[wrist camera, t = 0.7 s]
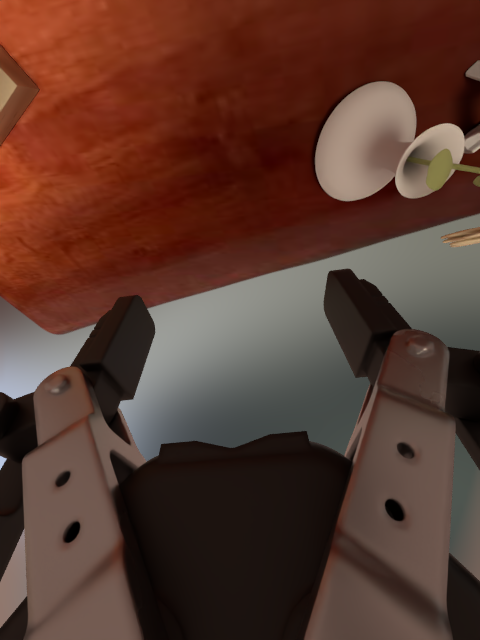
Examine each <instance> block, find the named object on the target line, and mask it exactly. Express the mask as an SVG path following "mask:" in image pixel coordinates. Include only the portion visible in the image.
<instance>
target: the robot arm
mask: <svg viewBox="0 0 480 640" xmlns="http://www.w3.org/2000/svg"><path fill="white" fill-rule="evenodd" d="M324 311H325V314H326V317H327V319H328V321H329V323H330V325H331V327H332V329H333V331H334V334H335V336H336V338H337V340H338V342H339V344H340V346H341V348H342V350H343V352H344V354H345V356H346V358H347V360H348V363H349V365H350V367H351V369H352V371H353V373H354V375H355V377H356V378H358V377H368V379H369V381H370V385H369V388H368V390H367V393H366V396H365V399H364V402H363V406H362V408H361V411H360V414H359V417H358V420H357V423H356V426H355V429H354V432H353V434H352V437H351V439H350V442H349V444H348V447H347V450H346V452H345V455H344V456H343V455H342V454H340V453H338V452H337V451H335V450H333V449H331V448H329V447H327V446H324V445H321V444H318V443H315V442H310V441H309V439H308V435H307V431H302V432H291V433H280V434H270V435H267V436H264V437H262V438H259V439H256V440H254V441H251V442H249V443H246V444H244V445H241V446H238V447H235V448H227V447H223V446H218V445H213V444H208V443H203V442H198V441H191V442H179V443H169V444H161V448H160V452H159V456H156V457H154V458H152V459H151V460H149V461H147V462H146V460H145V459H144V457H143V456H142V455H141V453H140V452H139V450H138V448H137V446H136V444H135V442H134V440H133V437H132V435H131V433H130V430H129V428H128V426H127V423H126V421H125V419H124V416H123V414H122V412H121V410H120V409H119V408H118V406H119V404H120V401H122V400H131V399H133V398H134V395H135V392H136V389H137V386H138V383H139V380H140V377H141V374H142V371H143V368H144V365H145V362H146V359H147V356H148V353H149V350H150V347H151V344H152V341H153V338H154V335H155V325H154V322H153V319H152V318H151V316H150V314H149V312H148V310H147V308H146V306H145V304H144V302H143V300H142V298H141V297H140V296H138V295H134V296H126V297H120V298H118V300H117V301H116V303H115V305H114V306H113V308H112V310H109V311H108V312H107V313H106V314H105V315H104V316H103V317H101V318H100V319H99V321H98V323H97V324H96V326H95V327H94V330H93V331H92V332H91V334H90V336H89V338H88V339H87V340H86V342H85V344H84V345H83V347H82V348H81V350H80V352H79V353H78V355H77V356H76V358H75V360H74V361H73V363H72V364H71V366H70V367H66V368H62V369H60V370H58V371H56V372H54V373H52V374H51V375H49V376H48V377H47V378H46V379H44V380H43V381H42V382H41V383H40V385H39V386H38V387H37V389H36V391H35V392H33V393H30V394H27V395H24V396H22V397H19V398H16V399H12V398H11V397H9V396H7V395H6V394H4V393H2V392H0V456H2V457H4V458H7V460H6V462H5V463H4V465H3V466H2V468H1V470H0V581H1V579H2V576H3V574H4V572H5V570H6V567H7V565H8V563H9V561H10V559H11V557H12V554H13V552H14V550H15V548H16V545H17V543H18V541H19V539H20V536H21V534H22V532H23V530H24V529H25V553H26V577H27V597H26V598H25V599H24V600H23V602H22V603H21V604H20V605H19V606H18V608H17V609H16V610H15V612H13V614H12V615H11V616H10V617H9V618H8V620H7V621H6V622H5V623H4V624H3V626H2V627H1V628H0V640H480V581H479V580H478V579H477V578H476V577H475V576H474V575H473V574H472V573H470V572H469V571H468V570H467V569H466V568H465V567H464V566H463V565H462V564H461V563H460V562H459V561H458V560H457V559H456V558H454V557H453V556H452V555H451V554H450V553H449V541H450V523H451V503H452V485H453V468H454V450H455V433H456V434H457V436H458V437H459V439H460V440H461V442H462V444H463V445H464V447H465V448H466V449H467V451H468V453H469V454H470V456H471V458H472V459H473V461H474V462H475V464H476V465H477V467H478V468H479V470H480V351H474V350H467V349H458V348H451V347H447V346H446V345H445V344H444V343H443V342H442V341H441V340H440V339H438V338H437V337H435V336H433V335H431V334H429V333H427V332H424V331H420V330H415V329H411V327H410V326H409V325H408V324H407V322H406V321H405V320H404V319H403V318H402V317H401V315H400V314H399V313H398V312H397V311H396V310H395V308H394V307H393V306H392V305H391V304H390V303H388V300H387V299H386V298H385V297H384V296H382V293H381V292H380V291H379V289H378V288H377V287H376V286H375V285H373V284H371V283H370V282H368V281H366V280H364V279H361V280H359V279H358V278H357V277H356V275H355V274H354V273H353V271H352V270H351V269H342V270H334V271H330V272H329V273H328V277H327V283H326V290H325V296H324Z"/></svg>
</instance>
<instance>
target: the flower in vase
mask: <svg viewBox="0 0 480 640" xmlns="http://www.w3.org/2000/svg"><path fill="white" fill-rule="evenodd" d="M415 131H416V113H415V109H414V105H413V103H412V101H411V99H410V97H409V96H408V95H407V93H406V92H405V91H404V90H403V89H402V88H401V87H400V86H398V85H396V84H394V83H390V82H383V81H380V82H373V83H369V84H366V85H364V86H362V87H360V88H358V89H356V90H355V91H353V92H352V93H350V94H349V95H348V96H347V97H345V98H344V99H343V100H342V101H341V102H340V103H339V104H338V106H337V107H336V108H335V109H334V111H333V112H332V113H331V115H330V116H329V118H328V120H327V121H326V123H325V125H324V127H323V129H322V132H321V134H320V137H319V140H318V144H317V148H316V155H315V168H316V174H317V178H318V181H319V183H320V185H321V187H322V188H323V189H324V191H325V192H326V193H327V194H329V195H330V196H331V197H333V198H335V199H338V200H342V201H354V200H358V199H362V198H365V197H368V196H370V195H372V194H374V193H376V192H377V191H379V190H380V189H381V188H383V187H384V186H385V185H386V184H387V183H389V182H390V181H391V180H392V178H393V177H394V176H395V183H396V187H397V189H398V191H399V192H400V193H401V195H403V196H405V197H407V198H420V197H423V196H426V195H428V194H430V193H432V192H434V191H435V190H439V189H440V188H441V187H442V186H443V185H444V183H445V182H446V181H447V180H448V179H449V178H450V177H451V175H452V174H453V173H454V171H455V170H462V171H468V172H474V173H479V174H480V168H478V167H472V166H466V165H459V163H460V161H461V158H462V155H463V152H464V147H465V139H464V135H463V132H462V131H461V129H460V128H459V127H458V126H456V125H453V124H440V125H437V126H434V127H432V128H430V129H428V130H426V131H425V132H423V133H422V134H421V135H419V136H418V137H417V138H416V139H415V140H414V137H415ZM473 183H474V184H475V185H476V186H479V187H480V176H478V177H477V178H476V179H475V180H474V182H473ZM441 238H442V239H444V238H448V239H447V240H444V241H443V243H447V242H453V241H456V242H453V243H451V244H450V245H451V247H460V246H466V245H471V244H476V243H480V227H478V228H472V229H467V230H463V231H459V232H455V233H452V234H448V235H445V236H442V237H441ZM459 240H460V241H459Z"/></svg>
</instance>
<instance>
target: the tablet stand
mask: <svg viewBox="0 0 480 640" xmlns="http://www.w3.org/2000/svg"><path fill="white" fill-rule="evenodd" d="M466 77H469V78H472V79H475V80H478V81H480V61H477V62H476V63H475V64H474V65H472V66H471V67H470V68H469V69H468V70H467V72H466ZM464 139H465V147H464V153H474V152H475V151H477V150H478V149H479V148H480V125H478V126H477V127H476V128H474V129H472V130H471V131H470V132H468V133H467V134H466V135H465V136H464Z"/></svg>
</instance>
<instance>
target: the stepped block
mask: <svg viewBox="0 0 480 640" xmlns="http://www.w3.org/2000/svg"><path fill="white" fill-rule="evenodd" d="M38 91H39V88H38V87H37V86H36V85H35V84H34V83H33V81H32V80H31V79H30V78H29V77H28V76H27V75H26V74H25V72H24V71H23V70H22V69H21V68H20V67H19V66H18V64H17V63H16V62H15V61H14V60H13V59H12V58H11V57H10V55H9V54H8V53H7V52H6V51H5V50H4V49H3V47H2V46H1V45H0V145H1V144H2V142H3V141H4V140H5V138H6V137H7V135H8V134H9V132H10V131H11V130H12V128H13V127H14V125H15V124H16V122H17V121H18V120H19V118H20V117H21V115H22V114H23V112H24V111H25V109H26V108H27V107H28V105H29V104H30V102H31V101H32V99H33V98H34V97H35V95H36V94H37V92H38Z"/></svg>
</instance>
